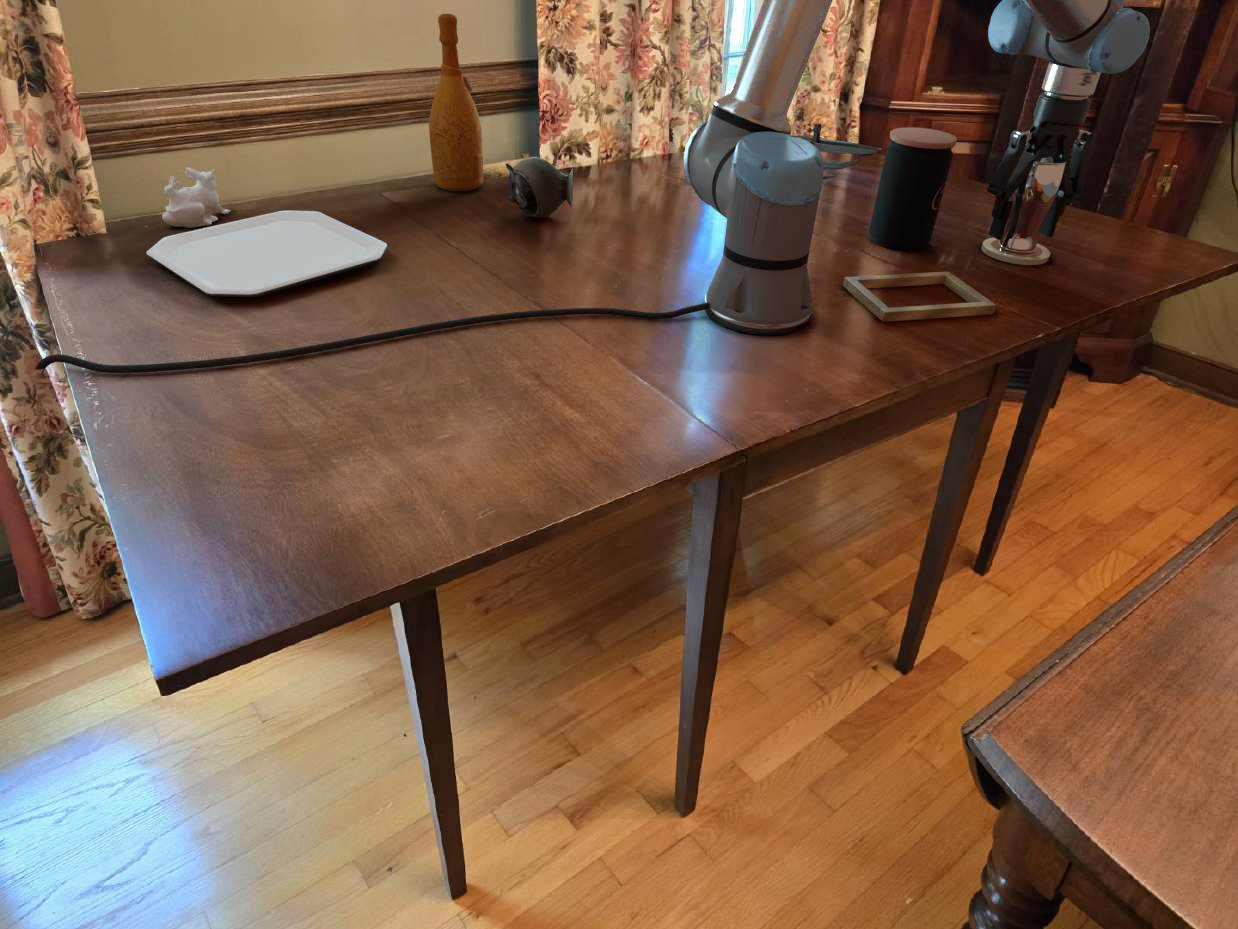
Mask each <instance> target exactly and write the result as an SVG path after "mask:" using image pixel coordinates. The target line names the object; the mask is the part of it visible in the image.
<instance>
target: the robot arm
mask: <svg viewBox="0 0 1238 929" xmlns="http://www.w3.org/2000/svg"><path fill="white" fill-rule="evenodd" d="M832 3H833V0H763V1H762V4H761V7H760V10H759V12H758V15H757V17H756V20H755V23H754V26H753V28H752V31H751V33H750V36H749V39H748V41H747V45H746V48H745V50H744V53H743V56H742V57H741V58H742V59H741V61H740V64H739V67H738V69H737V72H736V74H735V77H734V80H733V83H732V86H731V88H730V90H729V92H728V93H727V94H725V95H724V96H722V97H720V98H718V99H717V100H715V102H714V103H713V106H712V109H711V111H710V114H709V116H708V119H707V120H706V121H704V122H703V123H702V124H700V125H698V126H697V127H696V128H695V129H694V130H693V131H692V134H691V135H690V137H689V138H688V140H687V142H686V145H685V147H684V148H685V149H684V154H683V170H684V174H685V177H686V180H687V182H688V184H689V186H690V187H691V189H692V190H693V191H694V193H695V194H696V195H697V197H698V198H699V199H700V200H701V201H703V202H704V203H705V205H708V206H709V207H711V208H713V210H715V211H716V212H718V213H719V214H720V215H721V216H722V217H723V218H725V219H726V226H725V233H724V242H723V253H722V256H721V260H720V262H719V264H718V266H717V268H716V271H715V273H714V275H713V278H712V280H711V282H710V284H709V286H708V289H707V291H706V293H705V298H704V302H703V303H699V304H695V305H690V306H685V307H682V308H678V309H676V310H672V311H664V312H652V311H651V312H649V311H639V310H634V309H633V310H632V309H626V308H616V307H571V308H569V307H568V308H553V309H551V308H550V309H536V310H524V311H523V310H522V311H513V312H504V313H495V314H487V315H480V316H479V315H478V316H471V317H465V318H459V319H452V320H446V321H440V322H439V321H438V322H433V323H428V324H421V325H417V326H410V327H404V328H400V329H394V330H390V331H385V332H384V331H383V332H379V333H373V334H368V335H361V336H357V337H352V338H346V339H341V340H336V341H329V342H324V343H317V344H313V345H305V346H300V347H294V348H289V349H282V350H277V351H269V352H262V353H261V352H260V353H253V354H246V355H238V356H231V357H221V358H212V359H211V358H210V359H202V360H201V359H199V360H190V361H189V360H188V361H177V362H176V361H175V362H163V363H161V362H160V363H148V364H118V365H117V364H104V363H103V364H102V363H97V362H93V361H88V360H86V359H83V358H79V357H76V356H73V355H67V354H50V355H47V356H45V357H43V358H42V359H40V360H39V362H38V363H37V364H36V365H35V367H34V370H37V371H39V370H45V369H47V367H49V366H50V365H52V364H54V363H64V364H68V365H72V366H75V367H79V368H82V369H86V370H89V371H94V372H97V373H98V372H99V373H104V374H105V373H107V374H139V373H158V372H170V371H183V370H195V369H196V370H197V369H209V368H217V367H225V366H226V367H227V366H234V365H235V366H236V365H242V364H250V363H255V362H256V363H257V362H265V361H271V360H279V359H284V358H285V359H286V358H291V357H296V356H304V355H309V354H314V353H320V352H326V351H331V350H332V351H333V350H335V349H336V350H337V349H343V348H347V347H353V346H358V345H364V344H368V343H374V342H380V341H384V340H390V339H395V338H400V337H401V338H402V337H405V336H412V335H416V334H421V333H427V332H432V331H438V330H446V329H450V328H451V329H452V328H456V327H457V328H458V327H464V326H470V325H476V324H485V323H491V322H498V321H499V322H500V321H501V322H502V321H509V320H519V319H531V318H543V317H544V318H545V317H558V316H560V317H561V316H576V315H577V316H578V315H607V316H608V315H609V316H622V317H628V318H637V319H645V320H667V319H674V318H678V317H680V316H681V317H682V316H684V315H689V314H693V313H696V312H702V311H704V313H705V314H706V315H707V316H708V317H709V319H711V320H712V321H713V322H715V323H717V324H718V325H720V326H722V327H724V328H727V329H730V330H733V331H737V332H740V333H746V334H751V335H761V336H776V335H786V334H791V333H795V332H797V331H801V330H802V329H804V328H806V327H807V326H808V325H809V323H810V322H811V319H812V315H813V309H814V308H813V307H814V306H813V296H812V290H811V284H810V276H809V271H808V262H809V256H810V250H811V246H812V239H813V235H814V229H815V222H816V217H817V212H818V206H819V200H820V194H821V192H822V189H823V185H824V180H823V175H824V170H823V168H824V162H825V161H824V156H823V154H822V151H819V150H818V149H817V148H816V147H815V146H814V145H813V144H811V143H810V142H808V141H806V140H804V139H802V138H799V137H792V136H793V135H792V134H791V133H792V128H791V125H790V122H789V119H788V112H789V110H790V107H791V104H792V102H793V100H794V97H795V94H796V92H797V90H798V87H799V85H800V82H801V79H802V78H803V75H804V72H805V69H806V67H807V65H808V63H809V60H810V57H811V55H812V53H813V50H814V48H815V45H816V43H817V40H818V37H819V35H820V33H821V30H822V27H823V25H824V23H825V20H826V18H827V15H828V13H829V10H830V8H831V5H832ZM1125 3H1126V0H1001V1H1000V2H999V3H998V4H997V6H996V7H995V9H994V10H993V12H992V14H991V17H990V21H989V25H988V28H987V37H988V42H989V45H990V47H991V49H993V50H994V51H995V52H996V53H999V54H1009V55H1011V56H1015V55H1028V56H1033V57H1037V58H1041V59H1044V60H1048V61H1049V63H1048V65H1047V68H1046V72H1045V74H1044V78H1043V81H1042V84H1041V87H1040V88H1041V90H1042V91H1043V92H1042V93H1041V94H1039V95H1038V98H1037V101H1036V104H1035V108H1034V111H1033V114H1032V115H1033V116H1032V117H1033V123H1032V125H1031V126H1030V128H1029V129H1028V131H1022V132H1021V131H1018V130H1013V131H1012V132H1011V133H1010V137H1009V143H1008V147H1007V148H1006V151H1005V152H1004V154H1003V156H1002V158H1001V161H1000V162H999V164H998V166H997V169H996V170H995V173H994V175H993V177H992V179H991V181H990V183H989V184H988V186H987V188H986V191H987V193H989V194H991V195H992V196H995V200H994V203H993V206H992V211H991V217H992V221H991V224H990V228H989V230H988V231H989V232H988V235H989V236H990V237H991V238H993V237H994V238H996V239H997V240H1002V237H1003V233H1004V231H1005V228H1006V225H1007V222H1008V217H1009V214H1010V211H1011V208H1012V205H1013V200H1011V196H1012V195H1013V193H1014V192H1015V191H1016V189H1017V188H1018V187H1019V185H1020V184H1021V183H1022V181H1023V180H1024V179H1025V177H1026V176H1027V175H1028V173H1029V171H1030V169H1031V166H1032V164H1033V162H1036V161H1041V160H1042V158H1048V157H1052V159H1053V163H1063V162H1065V161H1066V160H1067V163H1066V167H1065V171H1064V175H1063V179H1062V182H1061V185H1060V188H1059V191H1058V194H1057V196H1056V198H1055V200H1054V203H1053V205H1052V206H1051V208H1050V210H1049V212H1048V214H1047V216H1046V217H1045V219H1044V221H1043V223H1042V225H1041V228H1040V230H1039V234H1041V235H1043V236H1045V237H1047V238H1053V237H1054V234H1055V231H1056V228H1057V225H1058V222H1059V219H1060V217H1062V216H1063V214H1064V213H1065V210H1066V207H1067V204H1068V202H1069V201H1071V200H1073V199H1075V197H1076V194H1077V195H1080V194H1081V193H1083V191H1084V186H1085V179H1086V173H1087V166H1088V160H1089V154H1090V148H1091V145H1092V144H1093V141H1094V139H1095V133H1093V132H1090V131H1088V130H1085V129H1080V126H1081V125H1083V124H1084V123H1085V120H1086V118H1087V116H1088V112H1089V109H1090V106H1091V104H1092V101H1091V99H1090V98H1089V97H1091V96H1093V95H1094V94H1095V91H1096V88H1097V85H1098V82H1099V79H1100V76H1101V74H1102V73H1103V74H1110V75H1115V74H1116V75H1117V74H1119V73H1123V72H1124V71H1127V69H1129V68H1130V67H1132V66H1133V65H1134V64H1135V63H1136V61H1138V59H1139V58H1140V57H1141V56H1142V55H1143V53H1144V51H1145V49H1146V48H1147V45H1148V42H1149V39H1150V34H1151V33H1150V32H1151V28H1150V27H1151V26H1150V21H1149V19H1148V18H1147V16H1146V15H1145V14H1143V13H1142V12H1140V11H1137V10H1134V9H1132V8H1131V7H1124V6H1125ZM1071 146H1072V148H1071ZM1031 153H1033V154H1034V155H1032V154H1031Z"/></svg>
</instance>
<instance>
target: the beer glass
mask: <svg viewBox="0 0 1238 929" xmlns="http://www.w3.org/2000/svg"><path fill="white" fill-rule="evenodd" d="M1031 154H1032V155H1034V154H1033V153H1031ZM1066 163H1067V160H1066V161H1065V162H1063V163H1053V159H1052V157H1048V158H1042V160H1041V161H1036V162H1033V164H1032V166H1031V169H1030V171H1029V173H1028V175H1027V176H1026V177H1025V179H1024V180H1023V181H1022V183H1021V184H1020V185H1019V187H1018V188H1017V189H1016V191H1015V192H1014V193H1013V195H1012V196H1011V197H1010V199H1011V200H1013V205H1012V208H1011V211H1010V214H1009V217H1008V221H1007V224H1006V227H1005V230H1004V233H1003V237H1002V240H999V243H998V245H999V247H1001V248H1002V249H1004V250H1007V251H1010V252H1014V253H1022V254H1028V253H1033V252H1035V250H1036V246H1037V244H1038V238H1039V234H1040V232H1039V230H1040V228H1041V225H1042V223H1043V221H1044V219H1045V217H1046V216H1047V214H1048V212H1049V210H1050V208H1051V206H1052V205H1053V203H1054V200H1055V198H1056V196H1057V195H1058V191H1059V188H1060V185H1061V182H1062V179H1063V175H1064V171H1065V167H1066Z"/></svg>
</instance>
